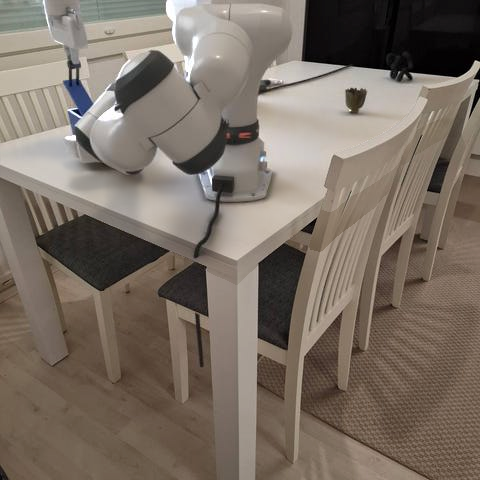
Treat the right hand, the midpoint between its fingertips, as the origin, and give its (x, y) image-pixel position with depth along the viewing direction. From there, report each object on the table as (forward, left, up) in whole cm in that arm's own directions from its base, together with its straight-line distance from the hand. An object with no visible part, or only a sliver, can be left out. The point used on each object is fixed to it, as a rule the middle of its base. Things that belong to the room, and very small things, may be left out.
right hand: (93, 132), depth 130 cm
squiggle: (+80, -116, -5) cm, 141 cm away
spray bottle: (+70, -52, -5) cm, 87 cm away
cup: (+31, -84, -5) cm, 89 cm away
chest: (+4, +3, -5) cm, 8 cm away
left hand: (+4, +3, +18) cm, 19 cm away
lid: (+4, +3, +8) cm, 10 cm away
